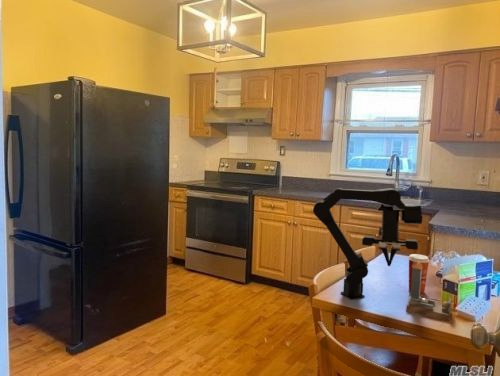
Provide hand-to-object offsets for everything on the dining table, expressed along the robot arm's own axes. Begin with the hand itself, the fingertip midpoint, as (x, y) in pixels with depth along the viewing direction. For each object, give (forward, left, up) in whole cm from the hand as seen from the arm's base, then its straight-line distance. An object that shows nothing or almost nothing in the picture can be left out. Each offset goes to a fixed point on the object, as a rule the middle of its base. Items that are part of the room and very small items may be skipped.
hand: (389, 265), depth 139 cm
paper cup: (+18, +3, -13) cm, 22 cm away
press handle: (+4, -10, -11) cm, 15 cm away
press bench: (+6, -13, -13) cm, 19 cm away
